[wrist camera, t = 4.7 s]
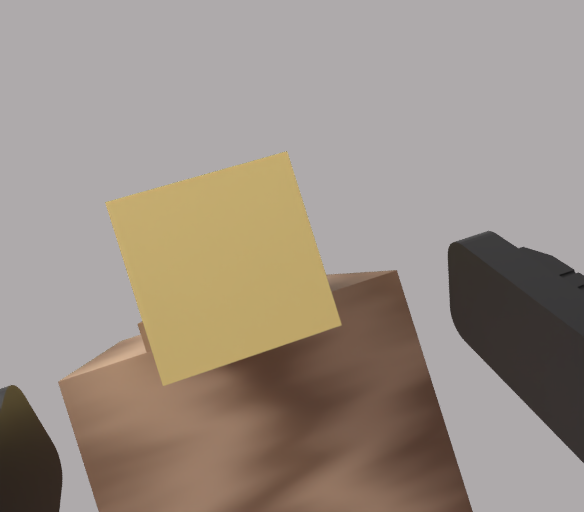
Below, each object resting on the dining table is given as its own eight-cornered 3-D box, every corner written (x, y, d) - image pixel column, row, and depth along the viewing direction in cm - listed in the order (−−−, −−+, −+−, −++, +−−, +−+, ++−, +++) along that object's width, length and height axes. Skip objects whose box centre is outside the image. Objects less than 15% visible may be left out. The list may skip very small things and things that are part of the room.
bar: (257, 297, 30) (238, 236, 30) (341, 324, 10) (286, 151, 10) (195, 316, 30) (176, 255, 30) (162, 386, 10) (105, 201, 10)
